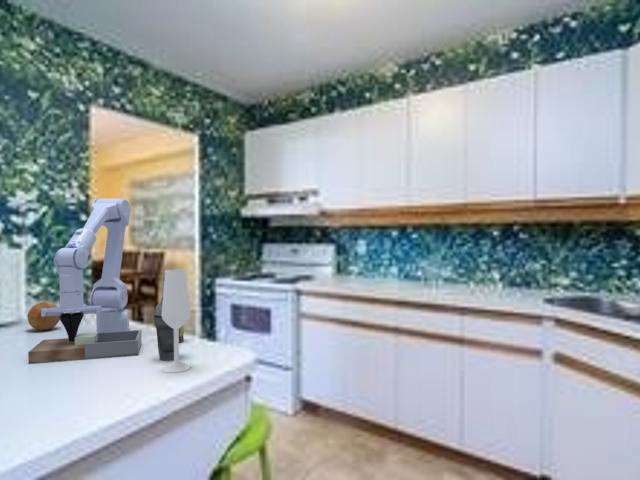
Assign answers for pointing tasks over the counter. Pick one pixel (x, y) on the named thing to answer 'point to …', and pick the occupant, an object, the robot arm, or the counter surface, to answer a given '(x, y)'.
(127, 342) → the box
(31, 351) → the plate
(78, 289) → the robot arm
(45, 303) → the onion
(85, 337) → the tile
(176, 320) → the champagne flute
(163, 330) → the beverage cup
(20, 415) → the counter surface
